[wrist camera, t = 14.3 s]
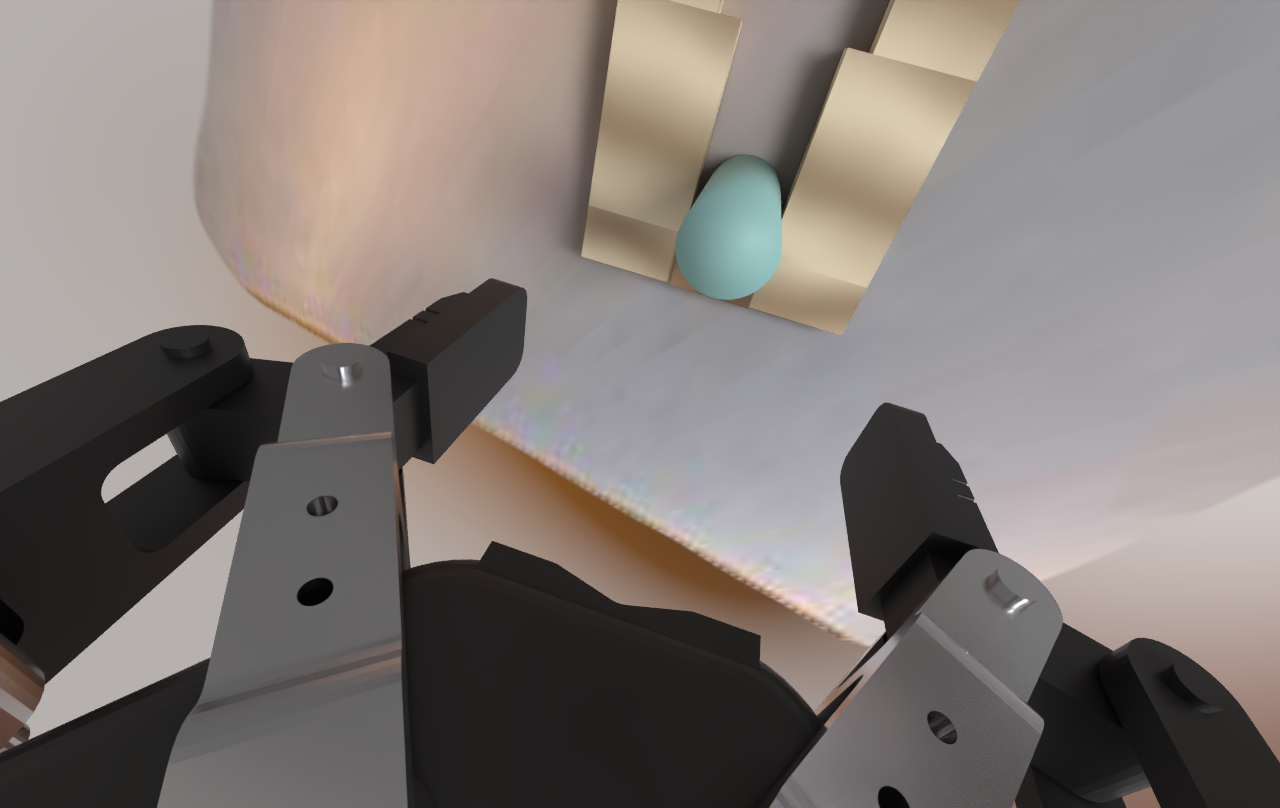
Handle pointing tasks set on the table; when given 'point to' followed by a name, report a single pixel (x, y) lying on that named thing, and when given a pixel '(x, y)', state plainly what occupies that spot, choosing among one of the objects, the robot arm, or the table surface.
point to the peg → (733, 230)
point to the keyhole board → (831, 166)
